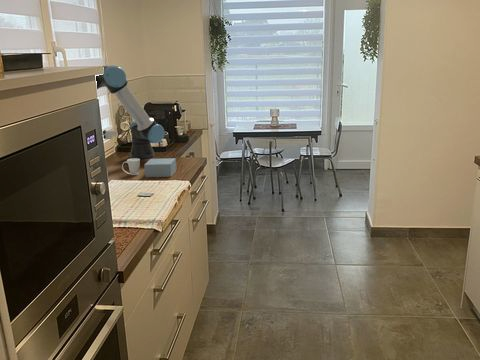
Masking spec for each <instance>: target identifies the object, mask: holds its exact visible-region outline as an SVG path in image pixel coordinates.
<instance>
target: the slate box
mask: <svg viewBox="0 0 480 360" xmlns="http://www.w3.org/2000/svg"><path fill="white" fill-rule="evenodd" d="M143 166H144V178H164V177H166V178H167V177H168V178H169V177H173V175H174V174H175V173H176V172H177V158H174V157H173V158H171V157H170V158H150V159H149V160H148V161H146V162H145V163H144V165H143Z"/></svg>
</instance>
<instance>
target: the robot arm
mask: <svg viewBox="0 0 480 360" xmlns="http://www.w3.org/2000/svg"><path fill="white" fill-rule="evenodd" d="M102 66H103V67H104V74H103V75H99V76H96V81H97V90H99V89H101V88H106V89H107V90H108V91H109V93H110V94H112V95H115V96H116V98H117V100H119V102H120V103H121V105H122V106H123V107H124V108H125V110H126V111H127V113H128V114H129V115H130V117H131V118H132V119H133V121H132V122H131V123H130V134H131V144H132V146H131V149H130V153H129V155H130V159H134V158H137V159H140V160H141V159H149V158H150V159H151V158H153V157H155V151H154V149H153V145H152V144H159V143H160V142H162V141H163V139H164V138H165V132H166V131H165V128H164V127H163V126H162V125H161V124H158V123H157V122H156V120H155V119H154V118H153V117H150V115H148V113H147V112H146V110H145V109H144V108H143V106H142V104H141V103H140V102H139V101H138V99H137V97H136V96H135V95H134V93H133V91H132V90H131V89H130V88H129V86H128V84H129V82H128V80H127V75H126V72H125V70H124V69H123V68H121V67H120V66H117V65H113V64H112V65H102ZM102 131H103V135H104V139H103V140H113V137H118V136H119V133H118V131H116V130H115V131H109V130H108V131H107V130H106V129H104V130H102Z"/></svg>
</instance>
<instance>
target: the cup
mask: <svg viewBox="0 0 480 360" xmlns="http://www.w3.org/2000/svg"><path fill="white" fill-rule="evenodd" d="M140 162H141V159H137V158H128V159H126V161H123V163H122V165H121V169H122V171H123V172H124V173H126V174H128V175H130V176H138V175H139V172H140V167H141V166H140ZM124 164H127V165H128V170H129V172H130V173H129V172H128V171H126V170H125V169H124Z"/></svg>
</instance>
